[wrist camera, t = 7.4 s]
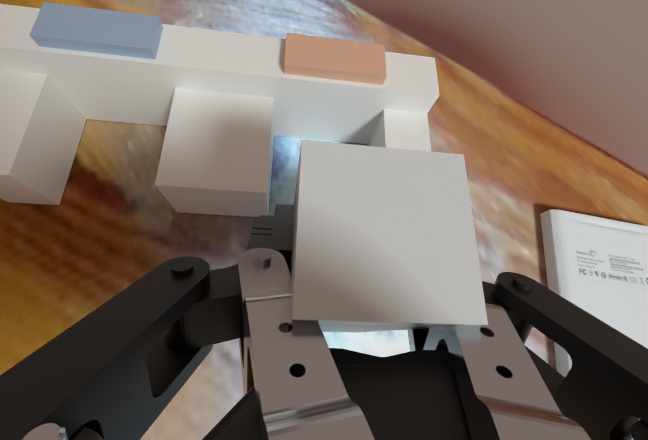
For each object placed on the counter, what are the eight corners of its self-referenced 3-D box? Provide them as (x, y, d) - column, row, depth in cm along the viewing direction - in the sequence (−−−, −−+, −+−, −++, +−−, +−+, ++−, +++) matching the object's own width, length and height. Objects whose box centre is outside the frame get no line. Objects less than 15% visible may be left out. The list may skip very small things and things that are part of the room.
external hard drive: (554, 430, 17) (533, 215, 22) (691, 448, 18) (645, 236, 22) (580, 440, 16) (553, 206, 20) (729, 459, 16) (672, 229, 21)
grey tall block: (283, 330, 16) (292, 319, 6) (287, 258, 17) (302, 139, 7) (355, 332, 16) (488, 324, 6) (355, 261, 17) (463, 154, 7)
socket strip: (7, 202, 17) (-113, 143, 12) (53, 80, 20) (-29, -12, 14) (410, 226, 20) (458, 186, 14) (402, 116, 22) (439, 48, 17)
